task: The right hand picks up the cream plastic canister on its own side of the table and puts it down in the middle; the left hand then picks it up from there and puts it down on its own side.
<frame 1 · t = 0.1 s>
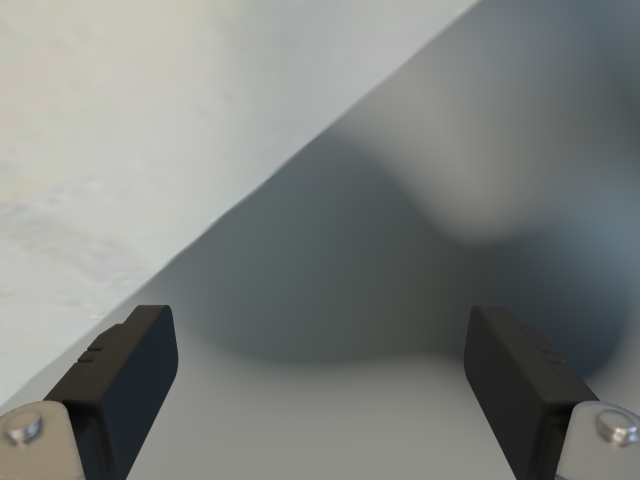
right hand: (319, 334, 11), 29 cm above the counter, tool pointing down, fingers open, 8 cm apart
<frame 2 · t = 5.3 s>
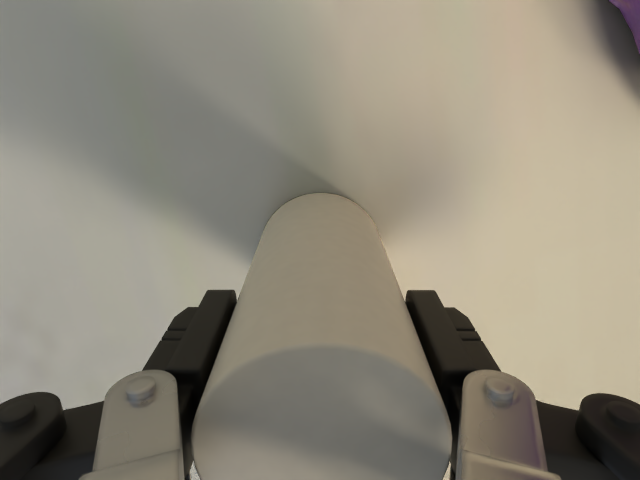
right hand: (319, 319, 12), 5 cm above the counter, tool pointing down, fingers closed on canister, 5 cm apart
canister: (320, 250, 17), on the counter, touching right hand
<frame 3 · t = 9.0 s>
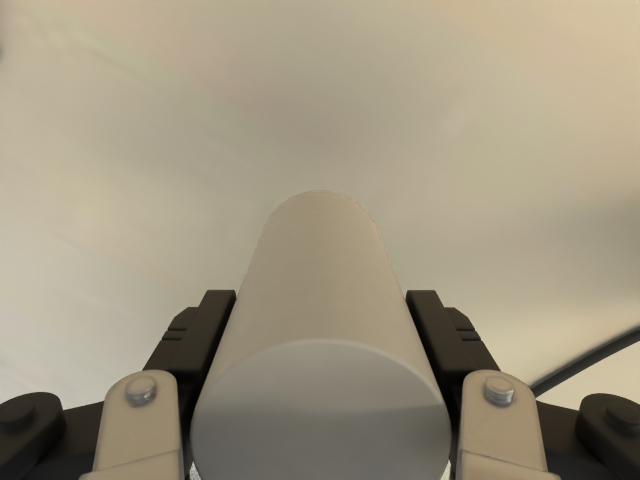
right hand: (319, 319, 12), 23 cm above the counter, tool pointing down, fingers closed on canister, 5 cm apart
canister: (320, 248, 17), point 18 cm above the counter, touching right hand
when the right hand's fingers open (6 cm above the counter, at t = 12.9 s): canister stays where it is, on the counter.
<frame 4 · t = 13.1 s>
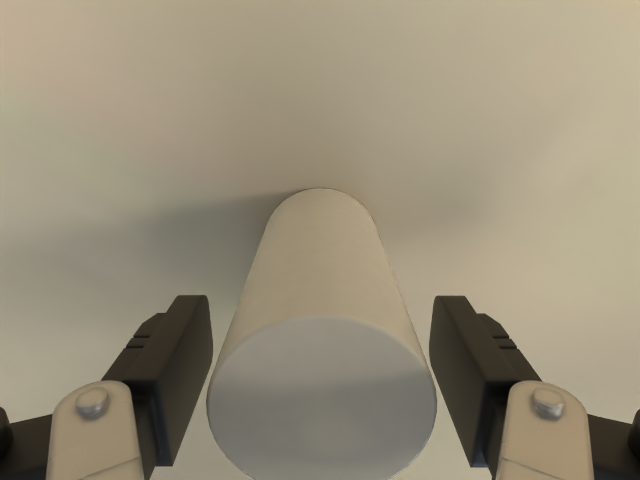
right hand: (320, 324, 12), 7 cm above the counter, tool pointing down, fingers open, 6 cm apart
canister: (320, 242, 18), on the counter
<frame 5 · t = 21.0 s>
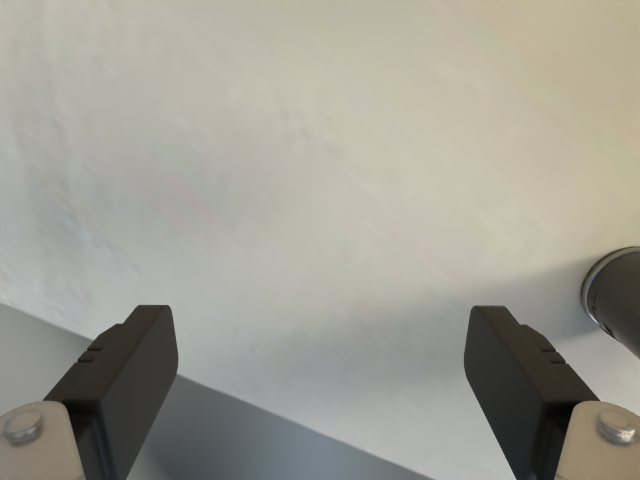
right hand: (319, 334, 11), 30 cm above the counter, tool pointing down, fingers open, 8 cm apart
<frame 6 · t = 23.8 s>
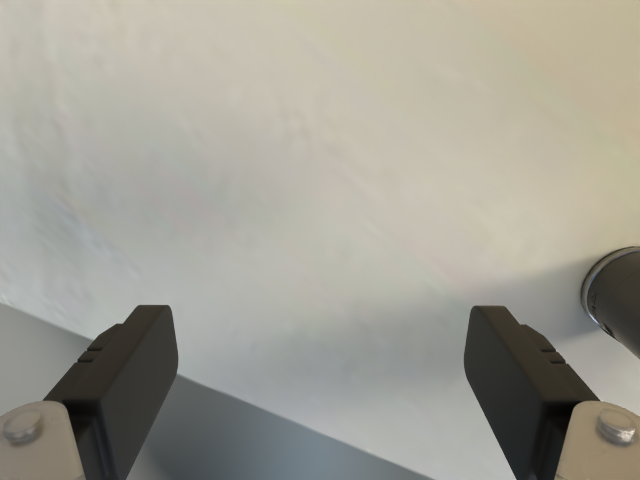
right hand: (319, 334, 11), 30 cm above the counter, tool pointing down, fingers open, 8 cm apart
when the left hand's fingers open (6 cm above the counter, at t = 26.7 s): canister stays where it is, on the counter.
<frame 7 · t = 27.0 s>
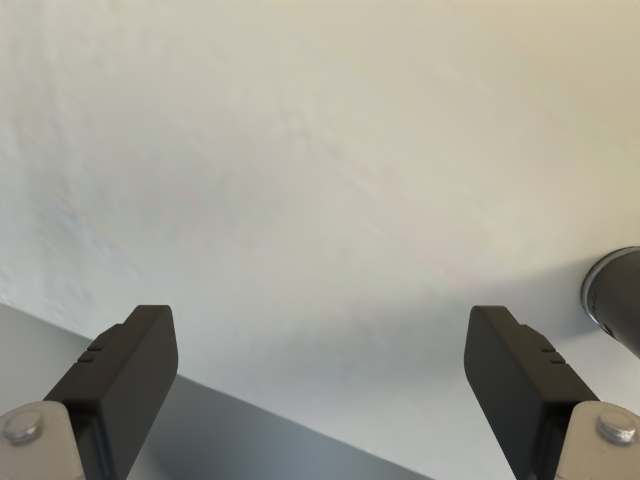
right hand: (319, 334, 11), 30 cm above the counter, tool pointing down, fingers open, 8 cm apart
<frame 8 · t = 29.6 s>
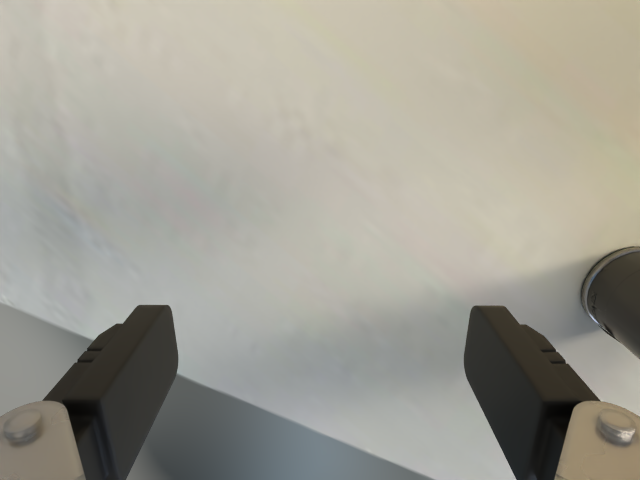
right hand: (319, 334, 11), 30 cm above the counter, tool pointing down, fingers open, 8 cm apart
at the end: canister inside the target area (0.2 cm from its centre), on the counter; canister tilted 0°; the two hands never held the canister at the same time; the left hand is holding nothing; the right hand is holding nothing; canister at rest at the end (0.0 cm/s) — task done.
